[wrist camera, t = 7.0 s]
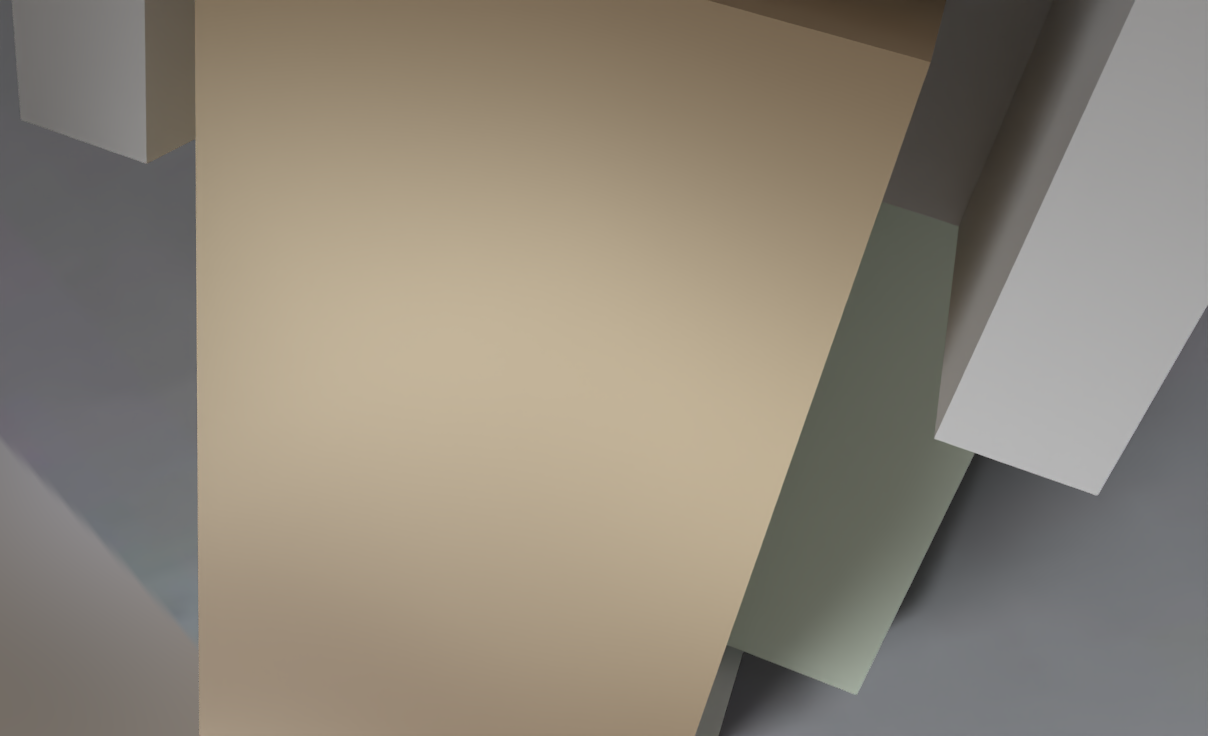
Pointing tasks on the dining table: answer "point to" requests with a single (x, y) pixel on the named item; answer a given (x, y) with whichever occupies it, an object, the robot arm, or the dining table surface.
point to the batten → (514, 342)
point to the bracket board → (885, 279)
